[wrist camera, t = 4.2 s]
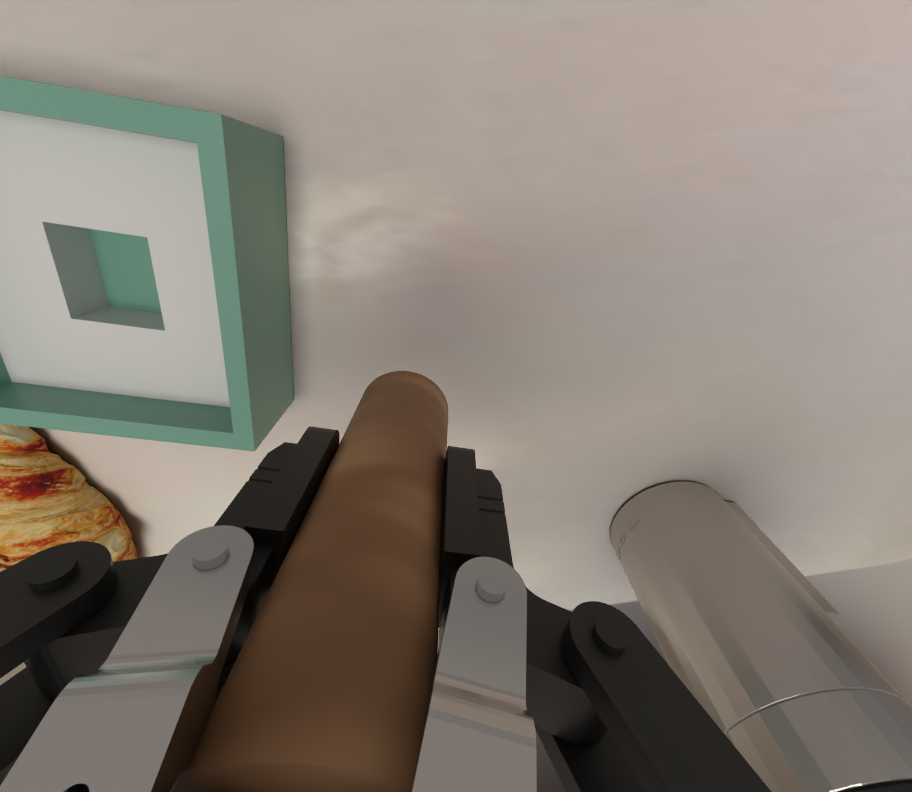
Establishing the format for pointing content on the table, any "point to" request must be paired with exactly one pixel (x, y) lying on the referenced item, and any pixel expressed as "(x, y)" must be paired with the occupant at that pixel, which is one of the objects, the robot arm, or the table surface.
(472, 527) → the robot arm
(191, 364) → the box
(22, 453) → the croissant
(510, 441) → the table surface
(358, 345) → the table surface
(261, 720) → the peg
